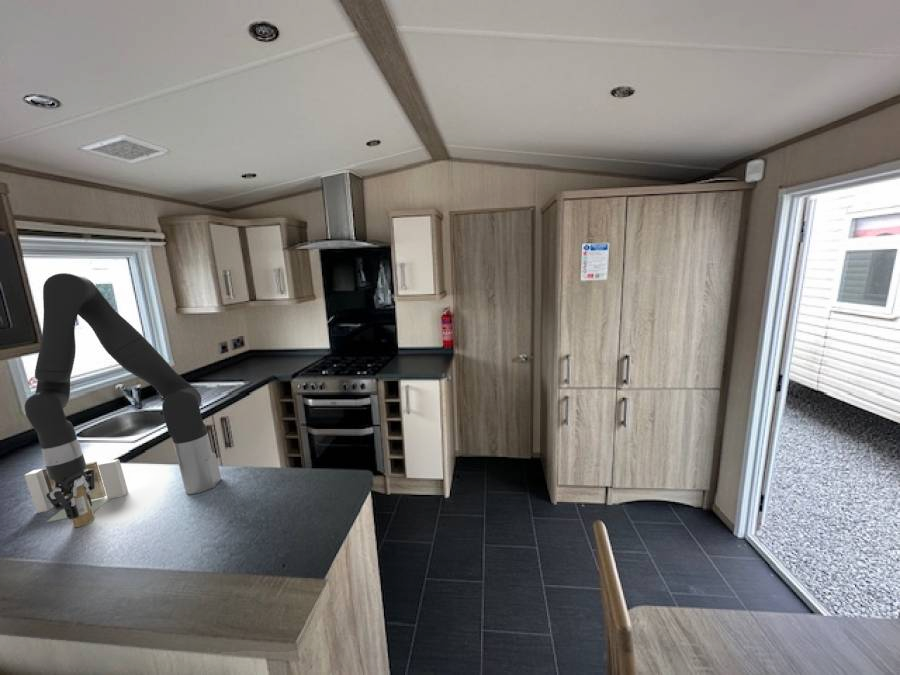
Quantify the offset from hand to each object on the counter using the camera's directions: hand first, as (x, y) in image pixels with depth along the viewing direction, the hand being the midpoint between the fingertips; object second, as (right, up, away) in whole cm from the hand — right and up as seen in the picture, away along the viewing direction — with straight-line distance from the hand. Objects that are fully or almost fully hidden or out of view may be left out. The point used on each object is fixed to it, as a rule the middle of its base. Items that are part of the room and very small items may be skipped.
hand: (80, 512), depth 108 cm
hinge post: (-22, -4, +11) cm, 24 cm away
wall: (-2, -1, +14) cm, 14 cm away
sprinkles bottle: (0, -3, +1) cm, 3 cm away
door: (-12, -3, +12) cm, 17 cm away
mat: (-8, -3, +8) cm, 12 cm away
